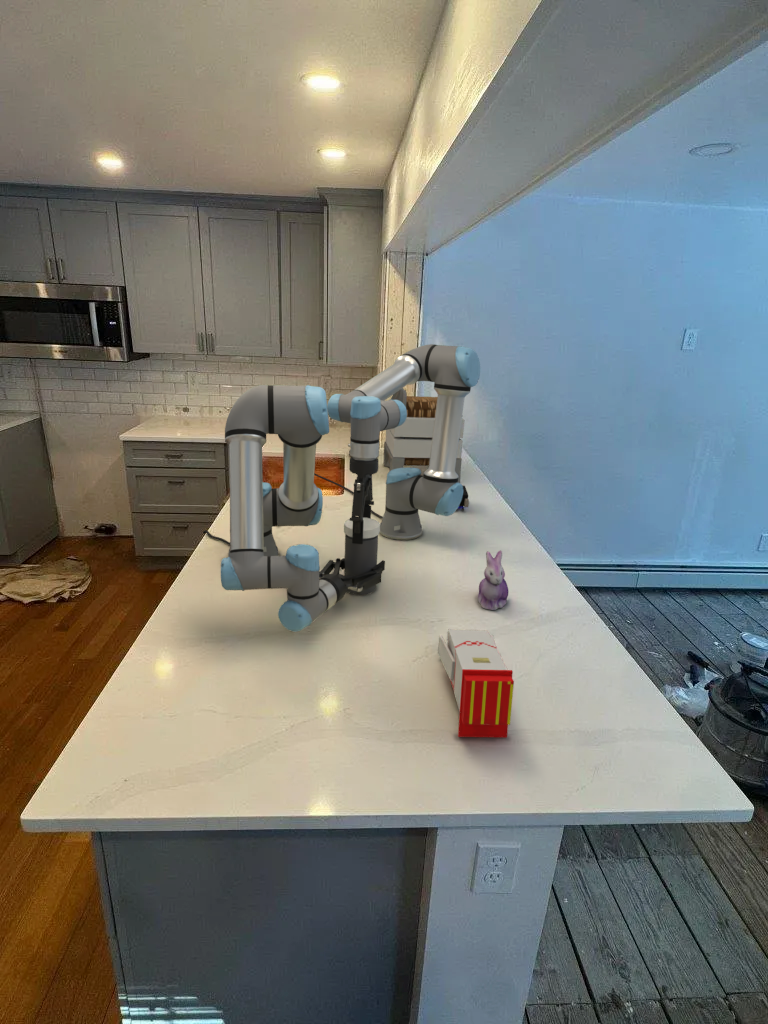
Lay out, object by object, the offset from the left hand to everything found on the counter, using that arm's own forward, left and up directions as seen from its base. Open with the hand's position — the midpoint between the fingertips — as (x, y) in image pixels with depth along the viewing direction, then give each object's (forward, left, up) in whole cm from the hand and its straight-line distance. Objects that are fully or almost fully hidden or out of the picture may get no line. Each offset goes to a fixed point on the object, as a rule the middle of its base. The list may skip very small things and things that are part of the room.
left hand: (368, 561), depth 162 cm
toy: (+43, -33, -7) cm, 54 cm away
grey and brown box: (-34, +114, -7) cm, 120 cm away
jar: (0, -5, -7) cm, 8 cm away
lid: (0, -5, +13) cm, 13 cm away
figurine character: (-1, +78, -7) cm, 78 cm away
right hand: (0, -5, +10) cm, 11 cm away
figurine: (+35, +7, -7) cm, 36 cm away
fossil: (-76, +129, -7) cm, 150 cm away
